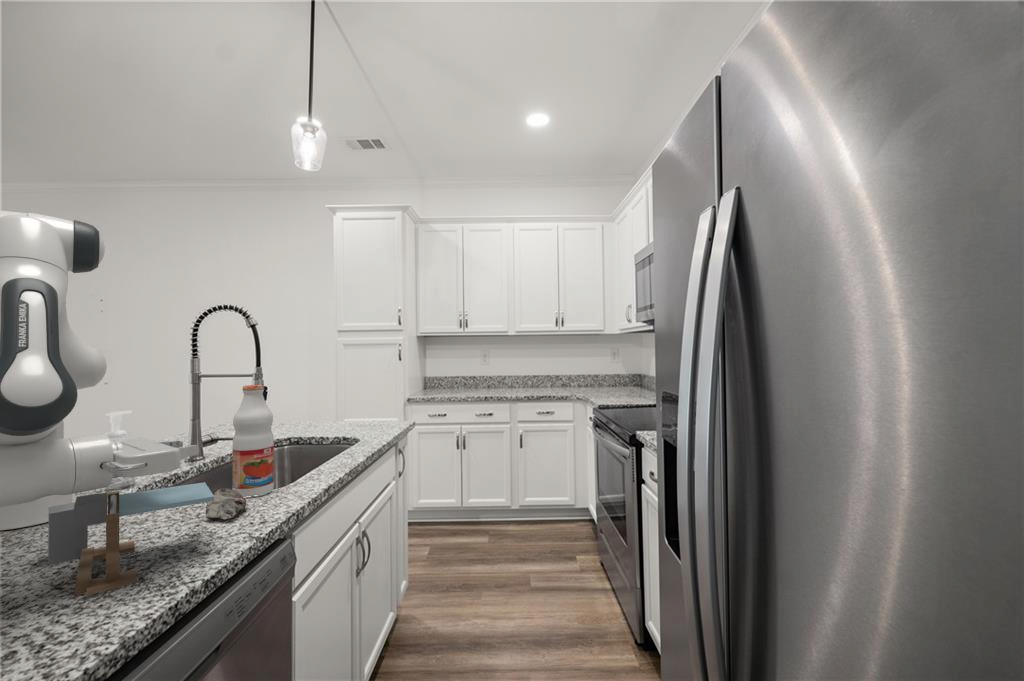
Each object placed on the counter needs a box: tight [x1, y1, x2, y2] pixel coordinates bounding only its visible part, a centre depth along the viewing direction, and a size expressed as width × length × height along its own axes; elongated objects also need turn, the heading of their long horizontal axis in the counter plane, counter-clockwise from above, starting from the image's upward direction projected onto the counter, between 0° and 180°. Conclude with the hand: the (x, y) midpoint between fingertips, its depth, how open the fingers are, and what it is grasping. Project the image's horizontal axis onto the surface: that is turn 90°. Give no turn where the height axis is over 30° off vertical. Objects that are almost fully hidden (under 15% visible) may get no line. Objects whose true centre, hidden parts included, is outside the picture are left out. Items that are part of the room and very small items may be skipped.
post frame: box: [74, 490, 138, 596], centre depth 79 cm, size 19×7×11 cm, turn 40°
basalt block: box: [47, 503, 89, 566], centre depth 84 cm, size 5×5×9 cm
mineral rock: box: [205, 487, 247, 520], centre depth 106 cm, size 15×8×4 cm, turn 17°
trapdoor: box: [73, 481, 215, 528], centre depth 83 cm, size 13×19×4 cm
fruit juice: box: [231, 384, 275, 499], centre depth 121 cm, size 9×9×28 cm
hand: (189, 447), depth 87 cm, fingers open, 6 cm apart
